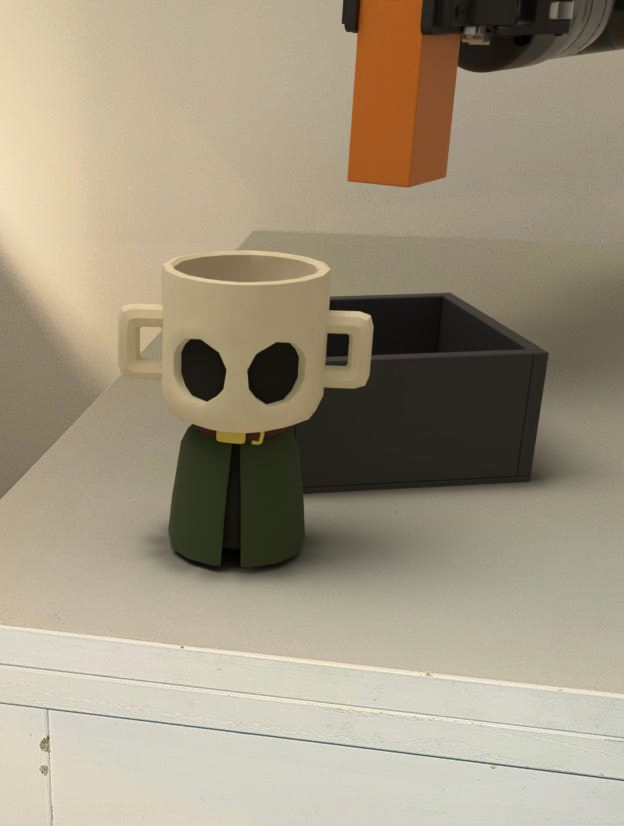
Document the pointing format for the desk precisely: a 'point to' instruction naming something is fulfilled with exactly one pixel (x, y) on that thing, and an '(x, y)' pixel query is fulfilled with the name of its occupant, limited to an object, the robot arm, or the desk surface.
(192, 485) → the character mug
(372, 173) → the block
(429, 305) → the bin
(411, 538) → the desk surface
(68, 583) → the desk surface
